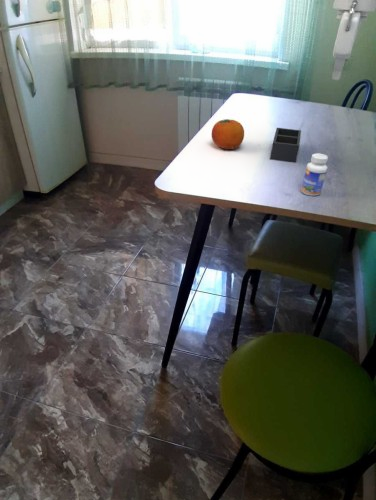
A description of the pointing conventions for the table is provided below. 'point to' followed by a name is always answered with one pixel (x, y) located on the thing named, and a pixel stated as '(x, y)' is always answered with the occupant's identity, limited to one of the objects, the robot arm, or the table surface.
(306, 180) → the pill bottle
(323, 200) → the table surface
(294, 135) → the open box
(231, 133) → the fruit
